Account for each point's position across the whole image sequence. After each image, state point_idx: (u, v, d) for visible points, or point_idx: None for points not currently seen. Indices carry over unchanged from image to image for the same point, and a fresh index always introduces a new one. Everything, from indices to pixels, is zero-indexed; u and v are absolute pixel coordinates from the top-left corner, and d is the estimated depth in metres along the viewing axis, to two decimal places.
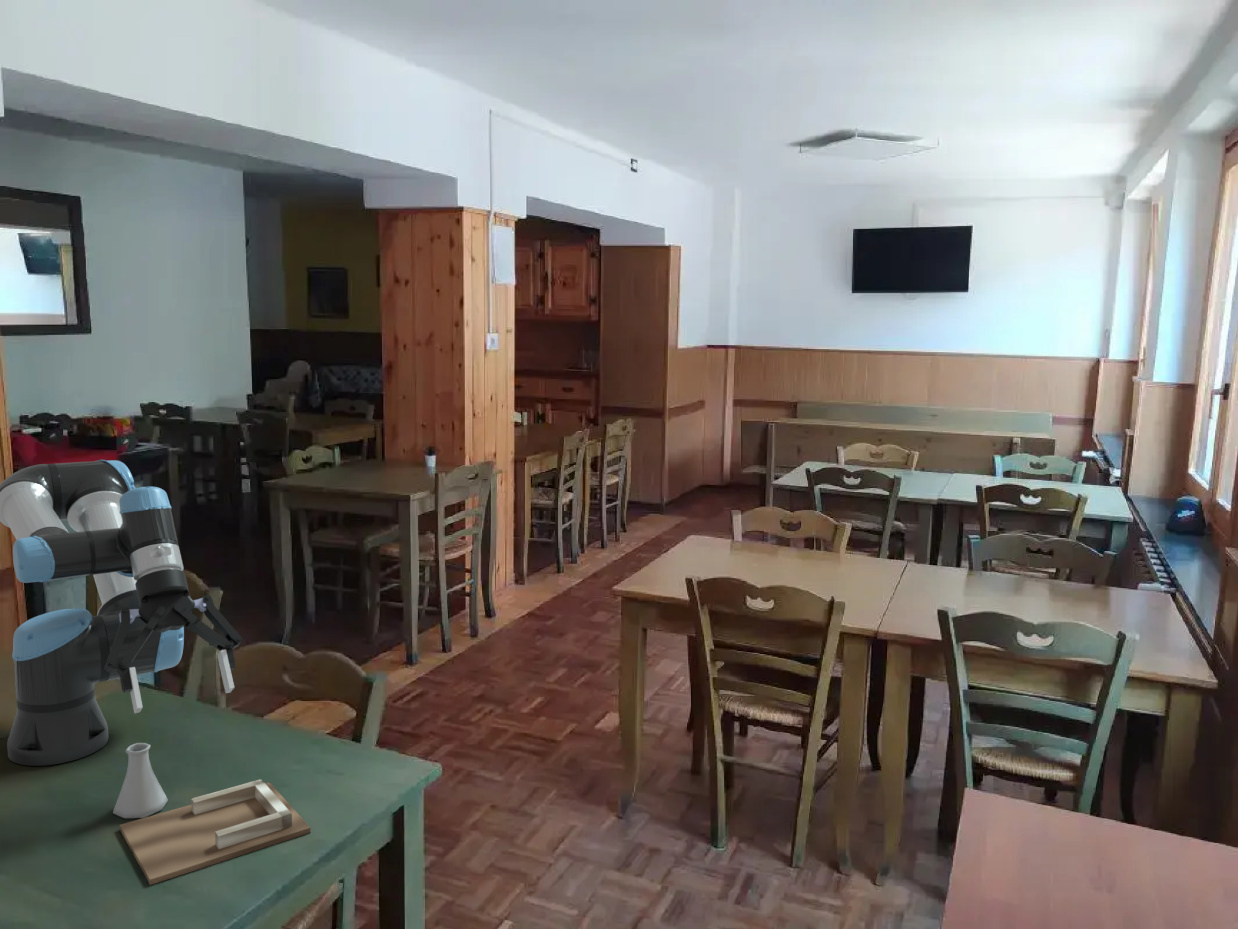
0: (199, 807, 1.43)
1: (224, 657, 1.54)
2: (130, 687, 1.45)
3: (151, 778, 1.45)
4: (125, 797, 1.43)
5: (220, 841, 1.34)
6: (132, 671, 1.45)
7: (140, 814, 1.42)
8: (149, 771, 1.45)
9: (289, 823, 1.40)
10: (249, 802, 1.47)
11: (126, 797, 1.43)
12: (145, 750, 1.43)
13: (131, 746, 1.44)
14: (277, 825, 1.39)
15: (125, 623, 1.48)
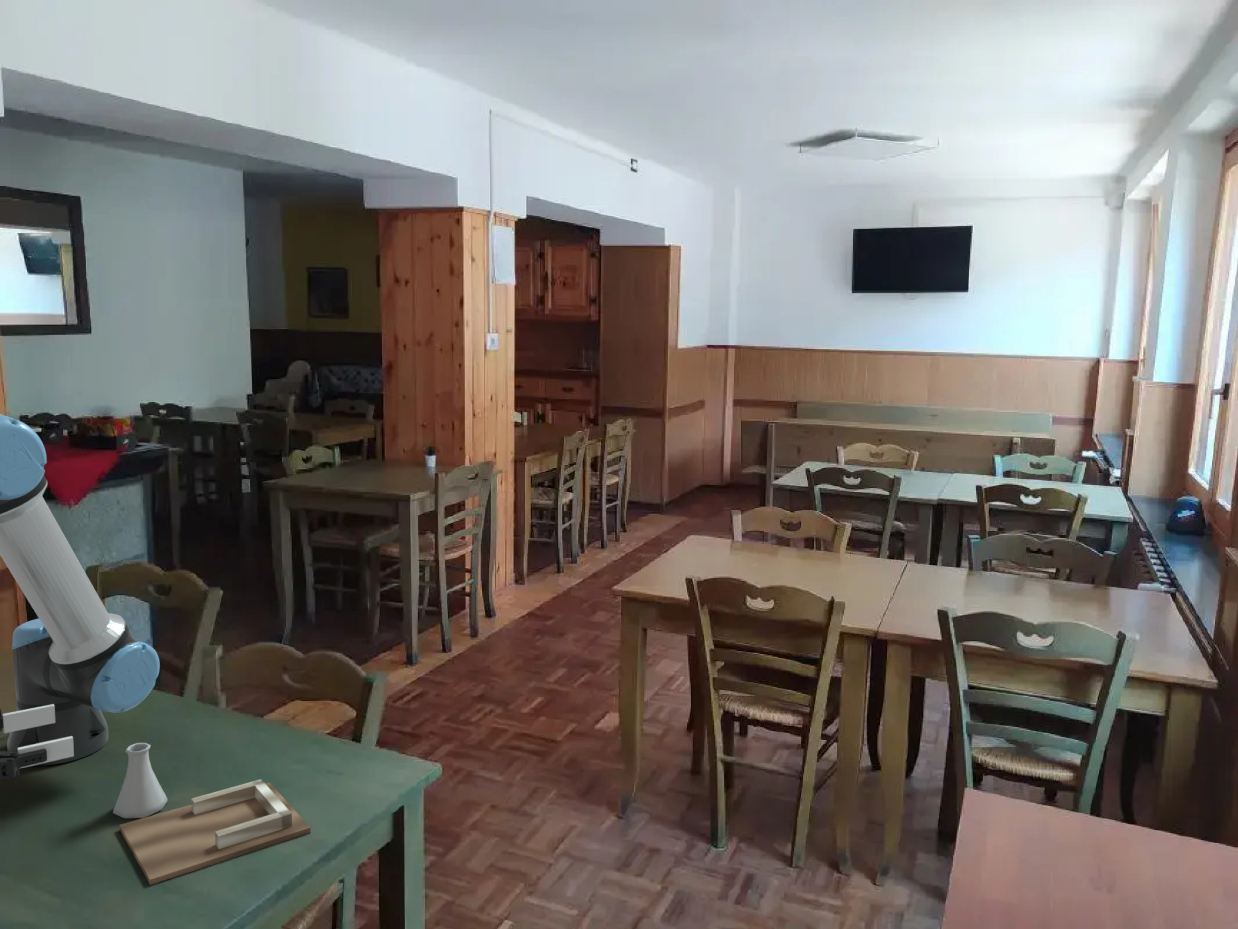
0: (199, 807, 1.43)
1: (29, 764, 1.29)
2: None
3: (151, 778, 1.45)
4: (125, 797, 1.43)
5: (220, 841, 1.34)
6: None
7: (140, 814, 1.42)
8: (149, 771, 1.45)
9: (289, 823, 1.40)
10: (249, 802, 1.47)
11: (126, 796, 1.43)
12: (145, 750, 1.43)
13: (131, 746, 1.44)
14: (277, 825, 1.39)
15: None
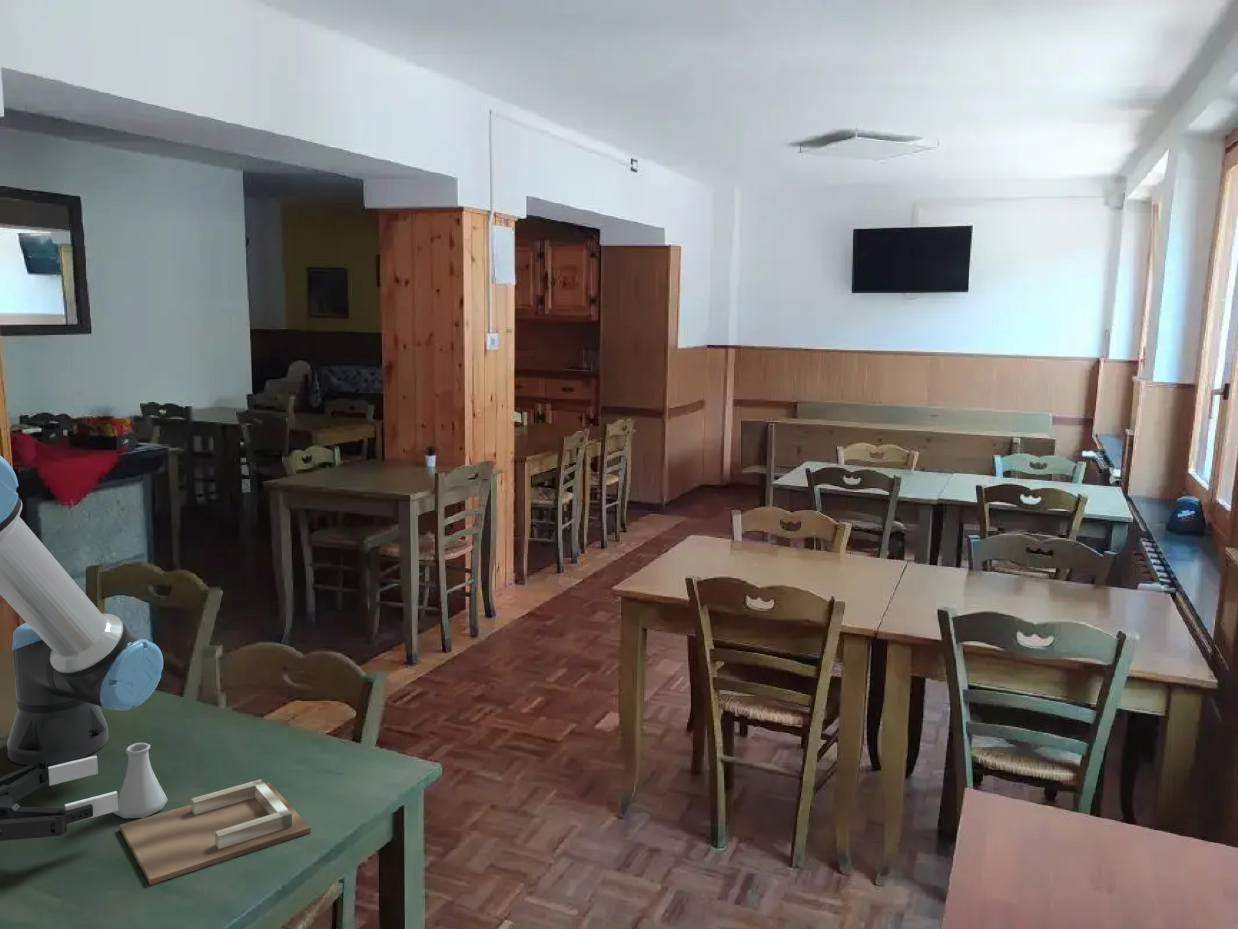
0: (199, 807, 1.43)
1: None
2: None
3: (151, 778, 1.45)
4: (125, 797, 1.43)
5: (220, 841, 1.34)
6: None
7: (140, 814, 1.42)
8: (149, 771, 1.45)
9: (289, 823, 1.40)
10: (249, 802, 1.47)
11: (126, 797, 1.43)
12: (145, 750, 1.43)
13: (131, 746, 1.44)
14: (277, 825, 1.39)
15: None
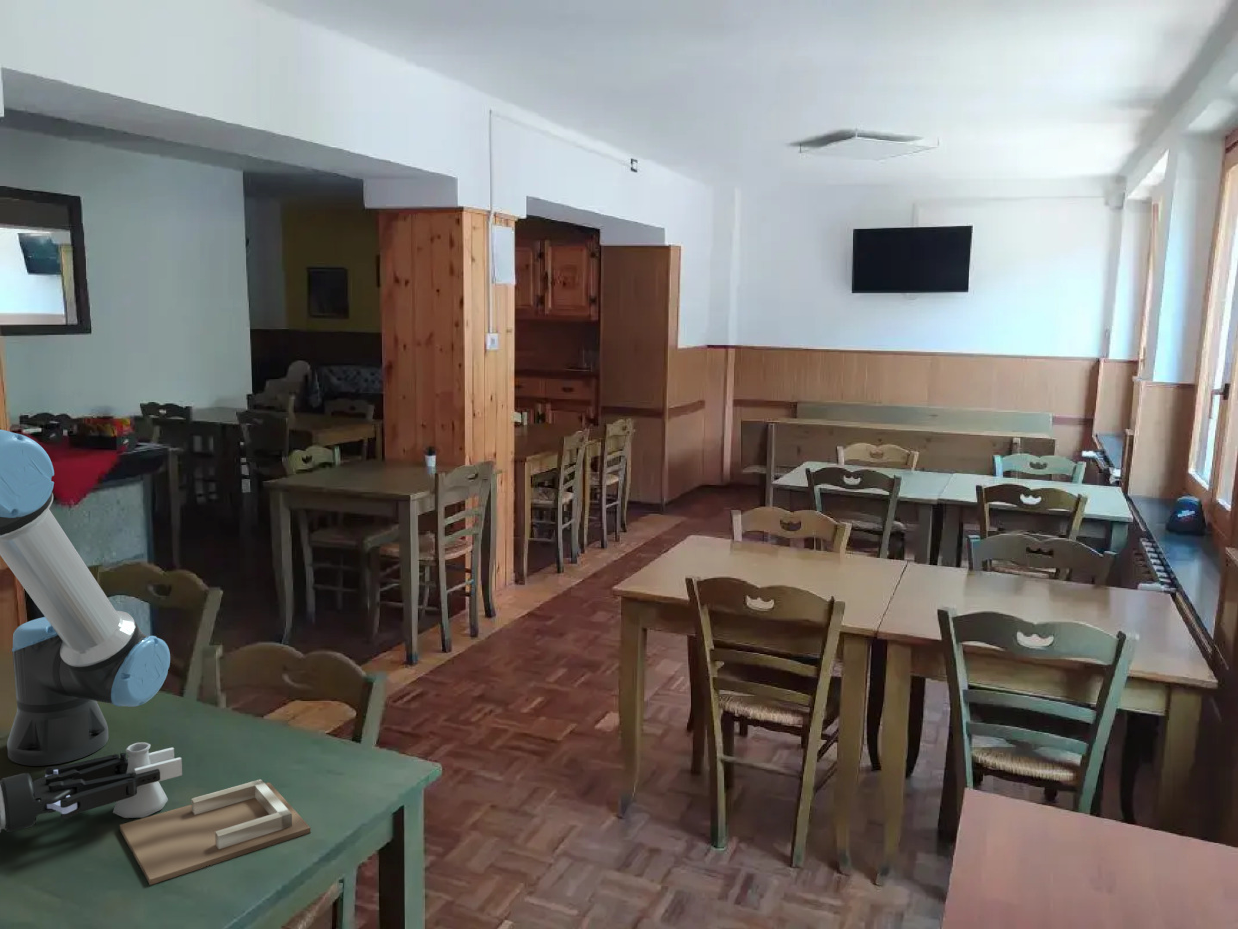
0: (199, 807, 1.43)
1: (144, 783, 1.44)
2: None
3: None
4: None
5: (220, 841, 1.34)
6: None
7: (140, 814, 1.42)
8: None
9: (289, 823, 1.40)
10: (249, 802, 1.47)
11: None
12: (145, 750, 1.43)
13: (131, 746, 1.44)
14: (277, 825, 1.39)
15: None
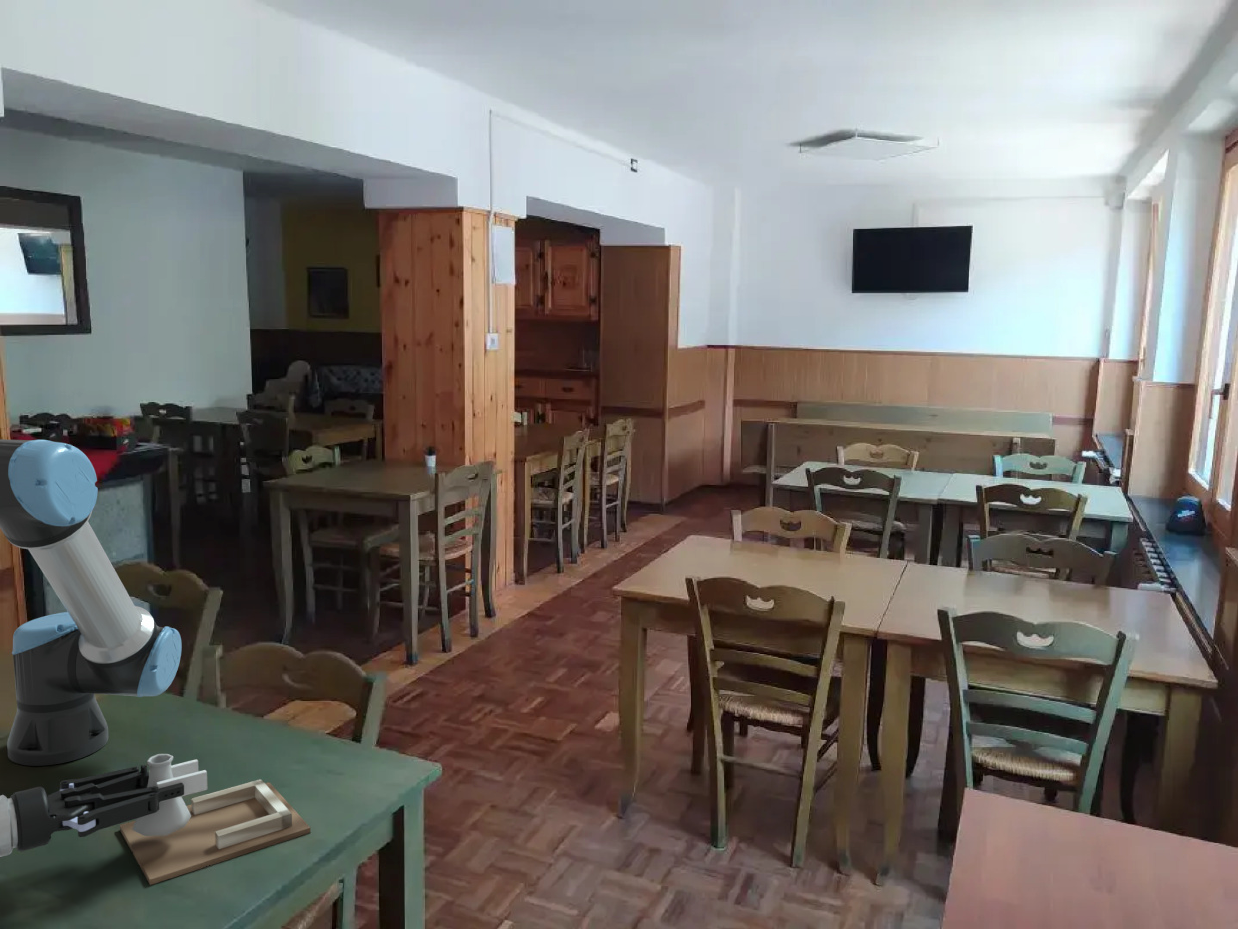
0: (199, 807, 1.43)
1: None
2: None
3: None
4: None
5: (220, 841, 1.34)
6: None
7: (162, 831, 1.31)
8: None
9: (289, 823, 1.40)
10: (249, 802, 1.47)
11: None
12: (168, 762, 1.33)
13: (152, 757, 1.33)
14: (277, 825, 1.39)
15: None
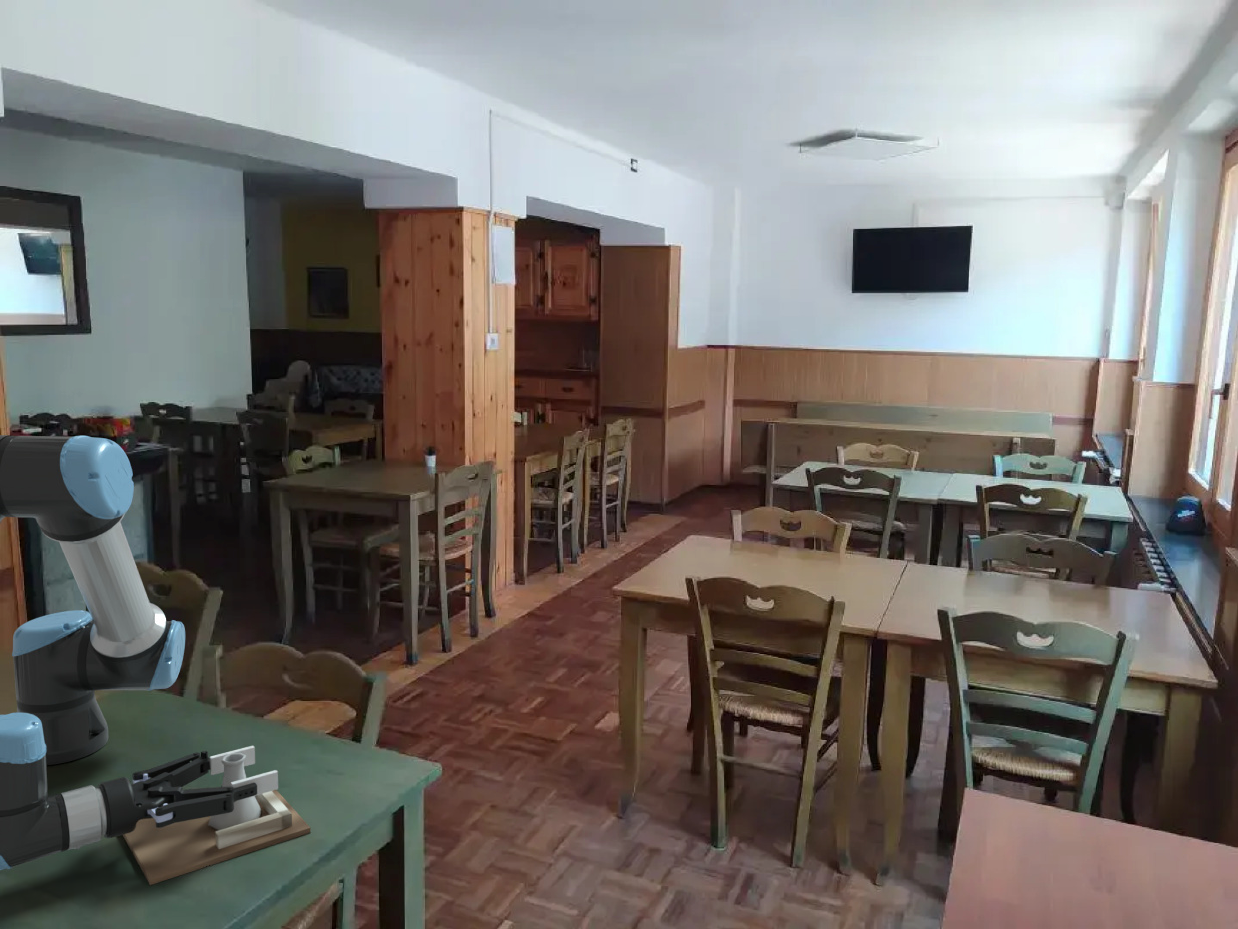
0: None
1: None
2: None
3: None
4: None
5: (220, 841, 1.34)
6: None
7: None
8: None
9: (289, 823, 1.40)
10: None
11: None
12: (241, 760, 1.39)
13: (226, 756, 1.40)
14: (277, 825, 1.39)
15: None
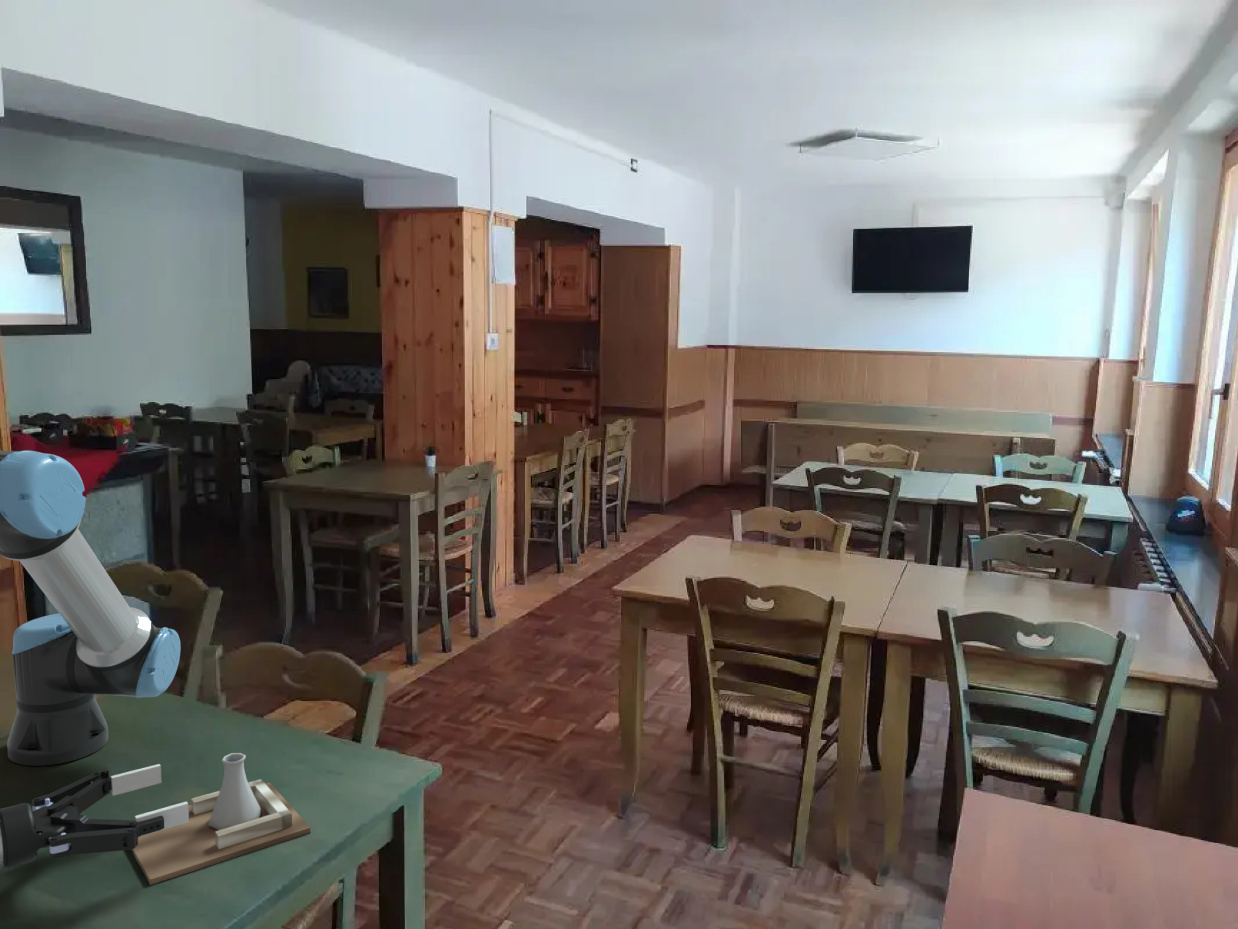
0: (199, 807, 1.43)
1: None
2: None
3: (246, 789, 1.41)
4: (221, 809, 1.39)
5: (220, 841, 1.34)
6: None
7: None
8: (244, 782, 1.41)
9: (289, 823, 1.40)
10: None
11: (222, 808, 1.39)
12: (241, 760, 1.39)
13: (226, 756, 1.40)
14: (277, 825, 1.39)
15: None
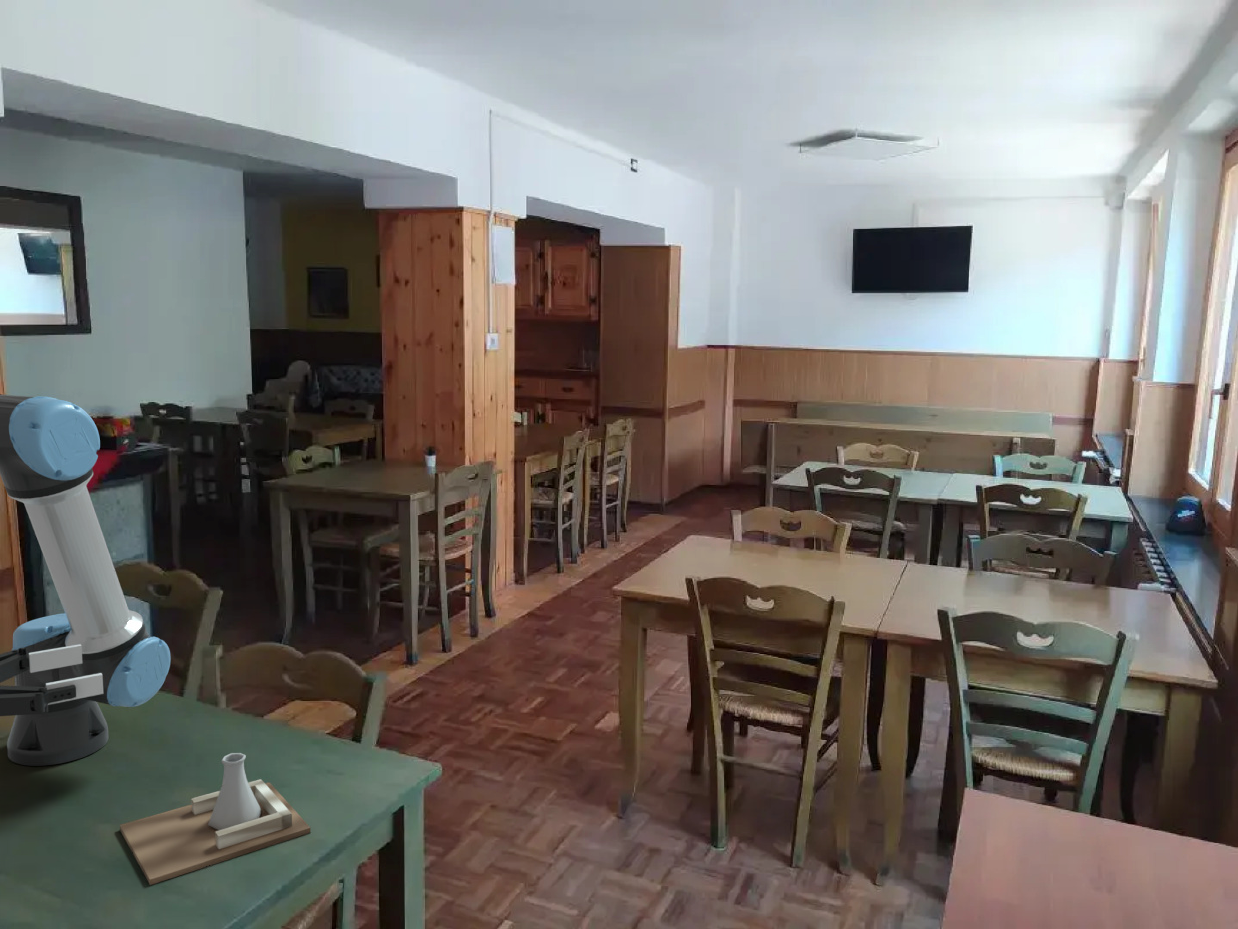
0: (199, 807, 1.43)
1: None
2: None
3: (246, 789, 1.41)
4: (221, 809, 1.39)
5: (220, 841, 1.34)
6: None
7: None
8: (244, 782, 1.41)
9: (289, 823, 1.40)
10: None
11: (222, 808, 1.39)
12: (241, 761, 1.39)
13: (226, 756, 1.40)
14: (277, 825, 1.39)
15: None
